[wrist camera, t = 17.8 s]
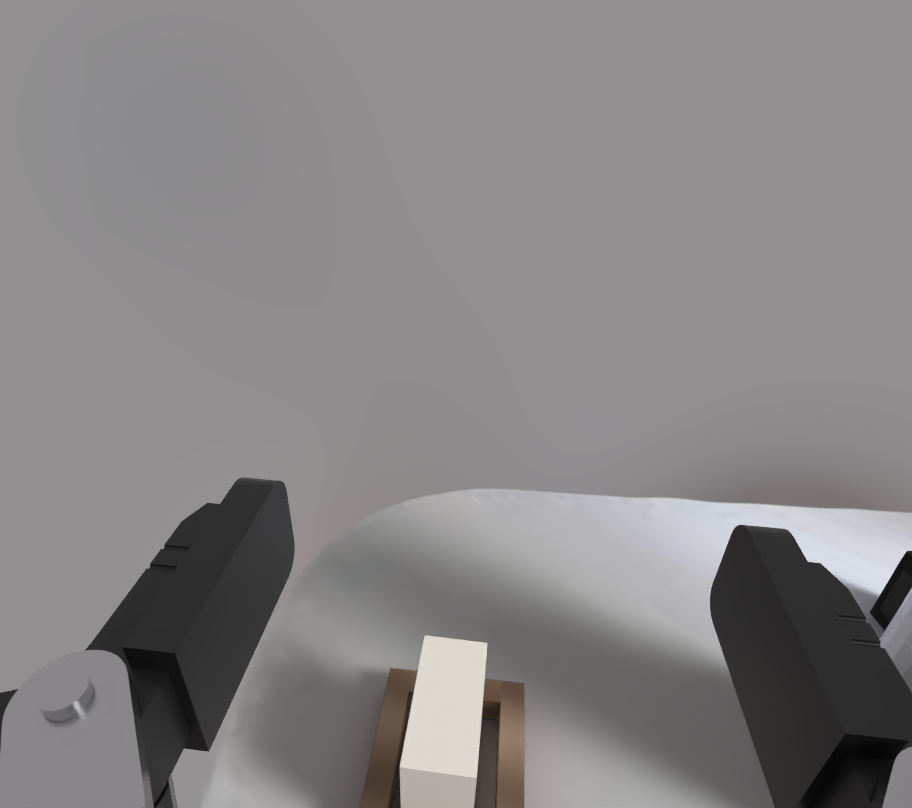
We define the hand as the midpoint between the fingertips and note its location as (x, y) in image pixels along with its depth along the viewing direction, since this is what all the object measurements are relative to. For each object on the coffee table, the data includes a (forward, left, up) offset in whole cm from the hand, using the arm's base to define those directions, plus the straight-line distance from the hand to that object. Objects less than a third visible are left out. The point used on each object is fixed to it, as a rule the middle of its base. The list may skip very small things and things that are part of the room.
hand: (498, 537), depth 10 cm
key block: (-6, -8, -30) cm, 31 cm away
